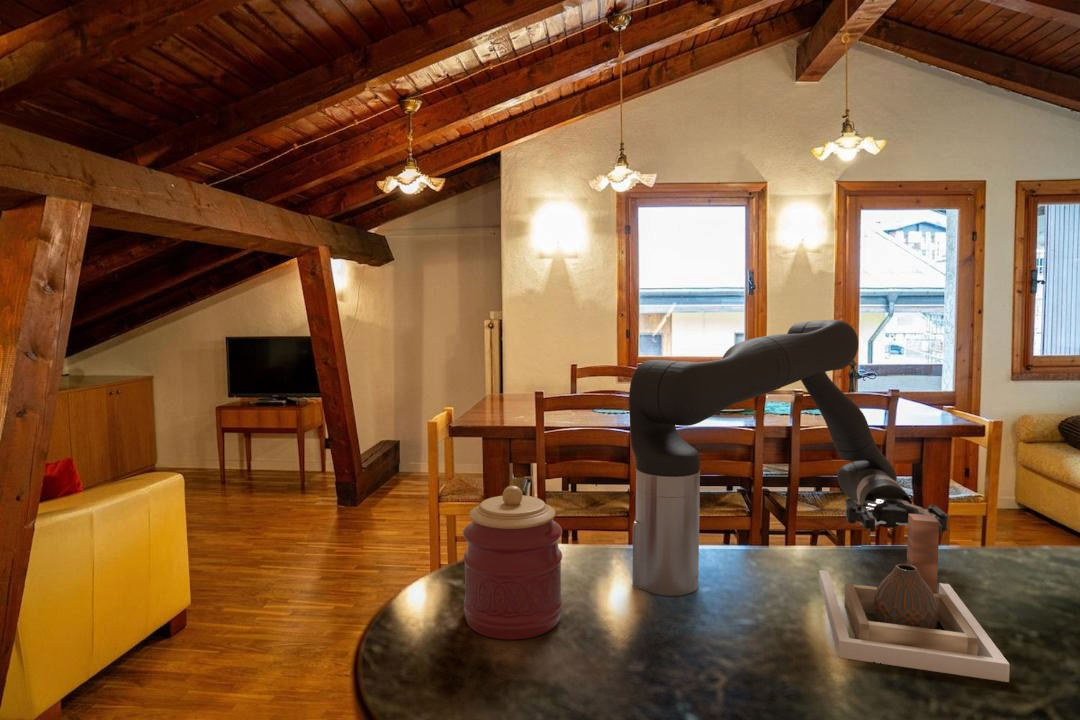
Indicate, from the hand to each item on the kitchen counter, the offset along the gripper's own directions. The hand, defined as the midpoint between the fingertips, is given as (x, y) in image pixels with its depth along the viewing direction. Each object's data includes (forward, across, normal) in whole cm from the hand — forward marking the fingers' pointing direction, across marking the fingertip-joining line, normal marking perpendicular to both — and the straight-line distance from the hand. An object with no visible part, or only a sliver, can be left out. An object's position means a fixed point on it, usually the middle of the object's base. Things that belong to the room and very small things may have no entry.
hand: (903, 528), depth 98 cm
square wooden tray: (+18, -4, +7) cm, 20 cm away
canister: (+31, -52, +7) cm, 61 cm away
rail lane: (+18, -4, +7) cm, 20 cm away
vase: (+21, -4, +7) cm, 23 cm away
